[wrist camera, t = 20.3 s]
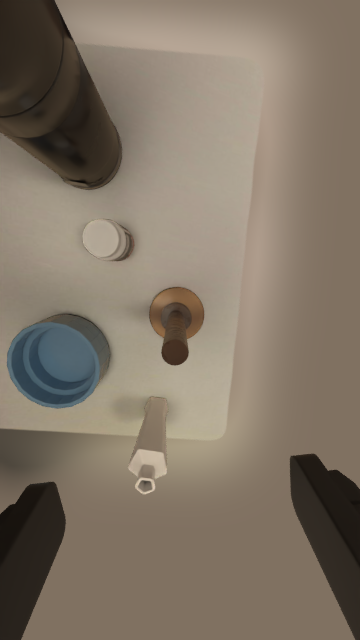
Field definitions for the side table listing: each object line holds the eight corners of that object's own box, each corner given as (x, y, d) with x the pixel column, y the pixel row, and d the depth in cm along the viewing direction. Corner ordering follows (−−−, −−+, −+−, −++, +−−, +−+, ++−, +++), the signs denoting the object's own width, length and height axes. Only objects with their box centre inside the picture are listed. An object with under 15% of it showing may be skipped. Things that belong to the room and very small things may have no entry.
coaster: (146, 290, 37) (145, 291, 36) (200, 283, 37) (201, 284, 36) (154, 342, 39) (153, 344, 38) (206, 336, 39) (206, 337, 38)
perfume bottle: (163, 424, 42) (155, 510, 27) (139, 413, 42) (118, 494, 27) (176, 401, 41) (175, 478, 27) (152, 390, 41) (137, 461, 26)
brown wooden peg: (159, 303, 37) (146, 331, 22) (189, 300, 37) (197, 325, 22) (163, 332, 38) (153, 378, 23) (192, 329, 38) (202, 373, 23)
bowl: (21, 319, 38) (-5, 328, 33) (102, 309, 38) (89, 316, 32) (41, 393, 41) (20, 412, 35) (116, 384, 40) (107, 402, 35)
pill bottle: (93, 240, 36) (68, 233, 27) (119, 218, 35) (102, 205, 27) (115, 267, 36) (97, 269, 28) (141, 247, 36) (130, 243, 28)
